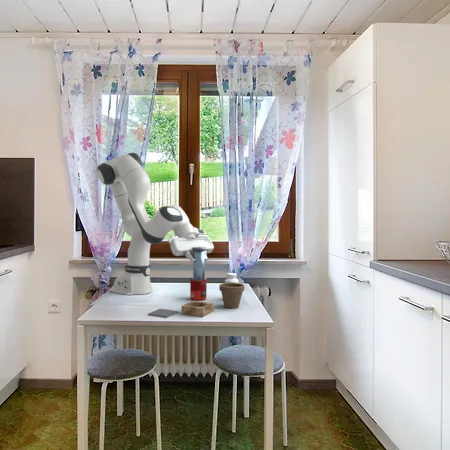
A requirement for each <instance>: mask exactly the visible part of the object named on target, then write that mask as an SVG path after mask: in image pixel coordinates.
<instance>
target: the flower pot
mask: <svg viewBox="0 0 450 450" xmlns="http://www.w3.org/2000/svg"><path fill="white" fill-rule="evenodd" d="M245 287H246V285H245V284H243V283H225V282H223V283H220V284H219V287H218V288H219V291H220V292H221V296H222V302H223V306H224V307H225V308H227V309H237V308H238V309H239V307H240V303H241V300H242V295H243V292H244V291H245Z"/></svg>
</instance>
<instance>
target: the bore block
mask: <svg viewBox="0 0 450 450" xmlns="http://www.w3.org/2000/svg"><path fill="white" fill-rule="evenodd" d="M213 312H214V303H213V302H207V301H194V300H191V301H189V302H187V303H184V304H183V305H181V315H184V316H193V317H200V318H204V317H206V316H208V315H209V314H211V313H213Z"/></svg>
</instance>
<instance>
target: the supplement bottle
mask: <svg viewBox="0 0 450 450" xmlns="http://www.w3.org/2000/svg"><path fill="white" fill-rule="evenodd" d="M237 276H238V275H237V273H235V272H227V273H226V277H227V278H226V279H224V283H239V279H238V278H237ZM239 284H240V283H239Z"/></svg>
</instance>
